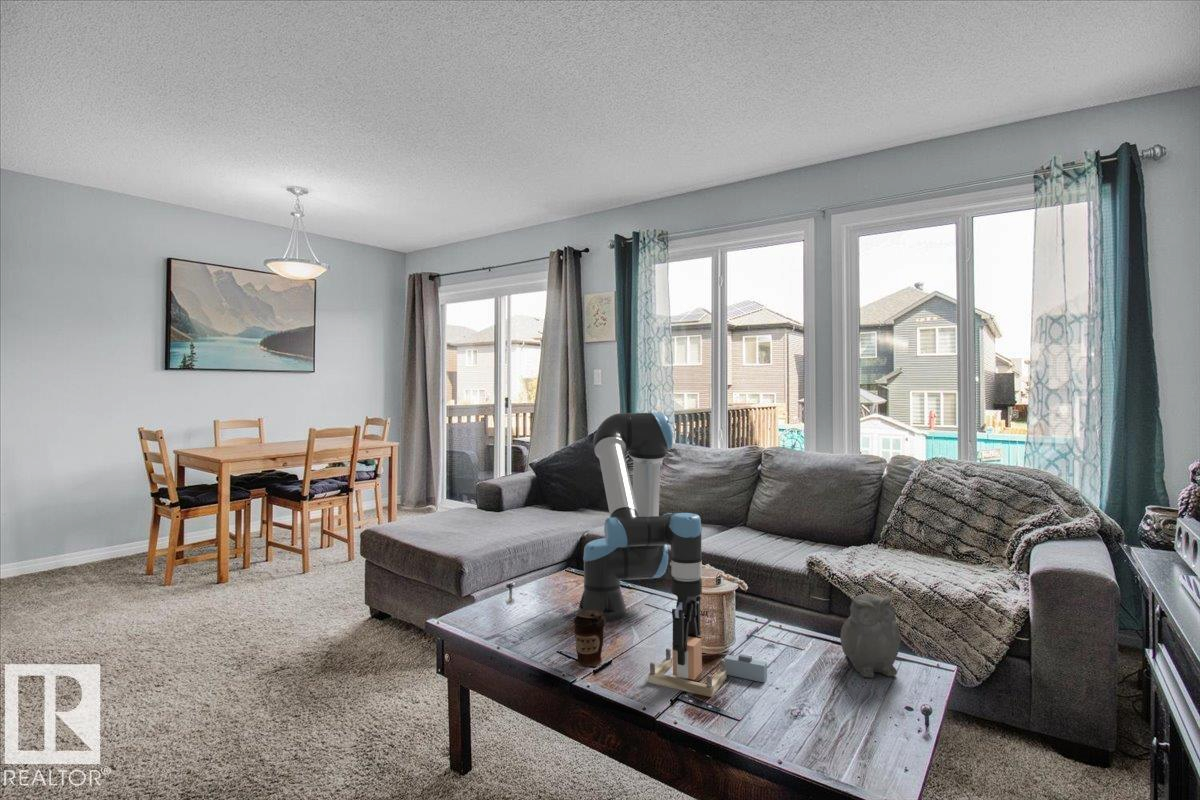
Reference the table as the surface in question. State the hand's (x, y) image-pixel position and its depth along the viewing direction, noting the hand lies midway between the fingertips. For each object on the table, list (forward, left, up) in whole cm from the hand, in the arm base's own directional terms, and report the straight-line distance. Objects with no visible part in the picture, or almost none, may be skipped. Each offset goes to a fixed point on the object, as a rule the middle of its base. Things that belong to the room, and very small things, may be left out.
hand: (687, 671), depth 149 cm
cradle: (0, 0, -2) cm, 2 cm away
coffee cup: (+2, -26, -2) cm, 27 cm away
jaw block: (0, 0, 0) cm, 0 cm away
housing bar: (-8, +12, -2) cm, 15 cm away
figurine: (-29, +38, -2) cm, 48 cm away
